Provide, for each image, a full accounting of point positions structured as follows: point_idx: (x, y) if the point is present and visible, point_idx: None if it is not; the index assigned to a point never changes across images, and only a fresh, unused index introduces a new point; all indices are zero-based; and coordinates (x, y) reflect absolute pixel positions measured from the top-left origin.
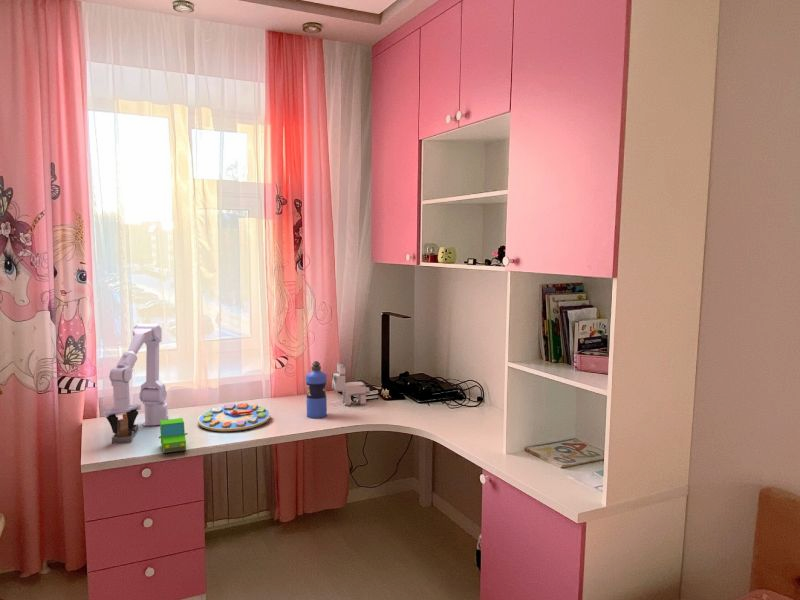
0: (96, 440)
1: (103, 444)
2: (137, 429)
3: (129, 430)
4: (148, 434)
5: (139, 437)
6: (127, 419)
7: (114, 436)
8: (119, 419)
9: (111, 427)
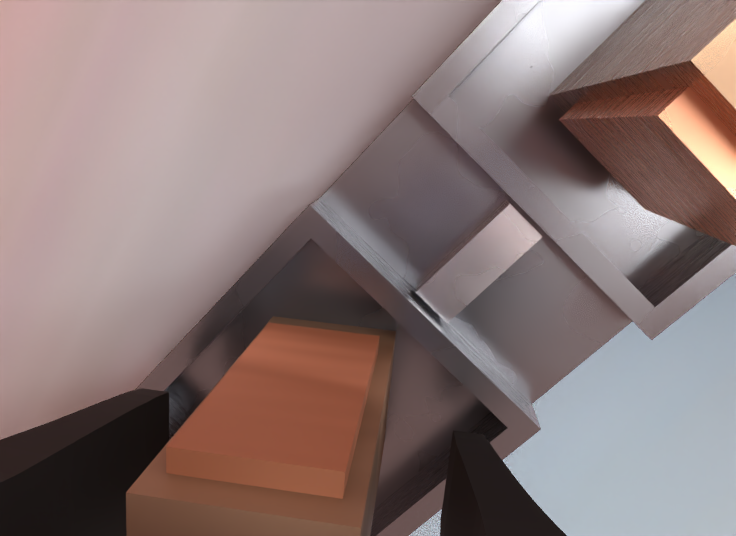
0: (101, 19)
1: (78, 292)
2: None
3: (572, 258)
4: (723, 457)
5: (547, 459)
6: (691, 204)
7: (202, 350)
8: (223, 510)
9: (58, 424)
